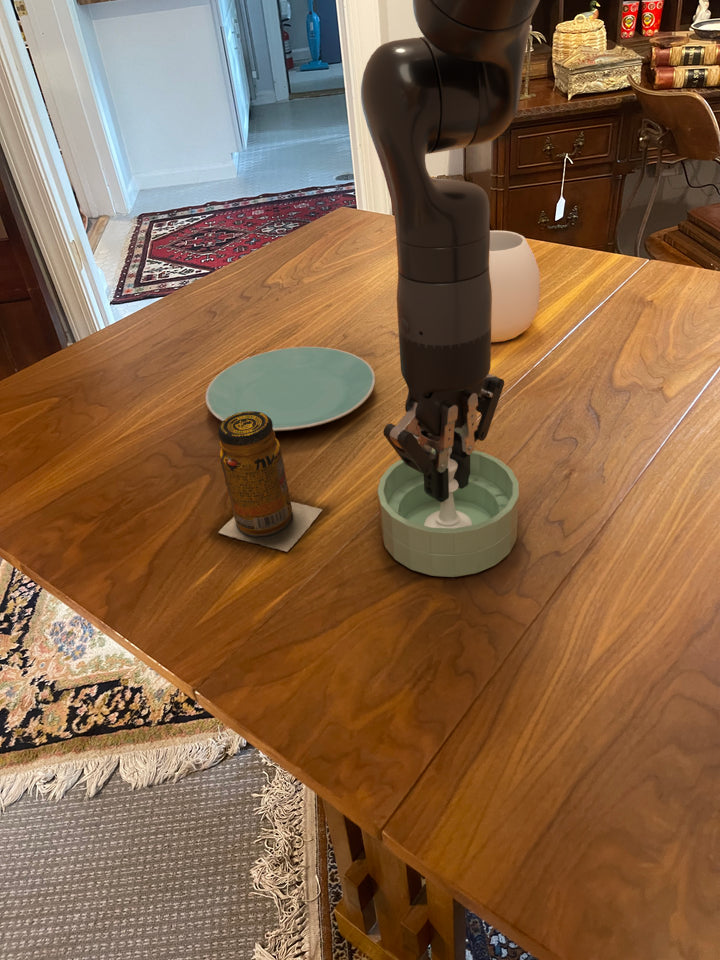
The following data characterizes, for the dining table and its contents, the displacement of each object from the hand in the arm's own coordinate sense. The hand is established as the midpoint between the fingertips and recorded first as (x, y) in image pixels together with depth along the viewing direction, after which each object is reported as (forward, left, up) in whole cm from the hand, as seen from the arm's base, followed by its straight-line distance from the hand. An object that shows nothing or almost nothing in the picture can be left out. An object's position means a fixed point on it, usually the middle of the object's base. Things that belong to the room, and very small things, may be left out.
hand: (447, 489), depth 69 cm
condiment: (+15, +11, -6) cm, 20 cm away
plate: (+33, -6, -6) cm, 34 cm away
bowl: (0, 0, -6) cm, 6 cm away
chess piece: (0, 0, -5) cm, 5 cm away
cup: (+26, -38, -6) cm, 47 cm away
